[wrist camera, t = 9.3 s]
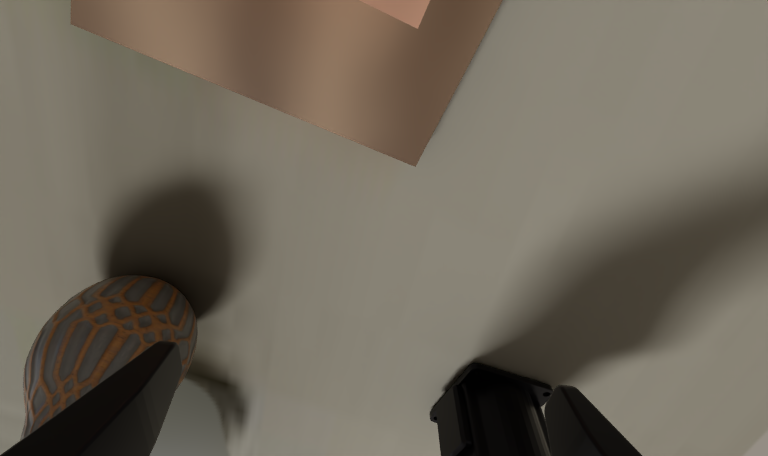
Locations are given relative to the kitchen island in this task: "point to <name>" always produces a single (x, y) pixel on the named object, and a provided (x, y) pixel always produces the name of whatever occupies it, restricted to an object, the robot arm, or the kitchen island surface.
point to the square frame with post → (402, 9)
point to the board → (312, 57)
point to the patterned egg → (102, 340)
